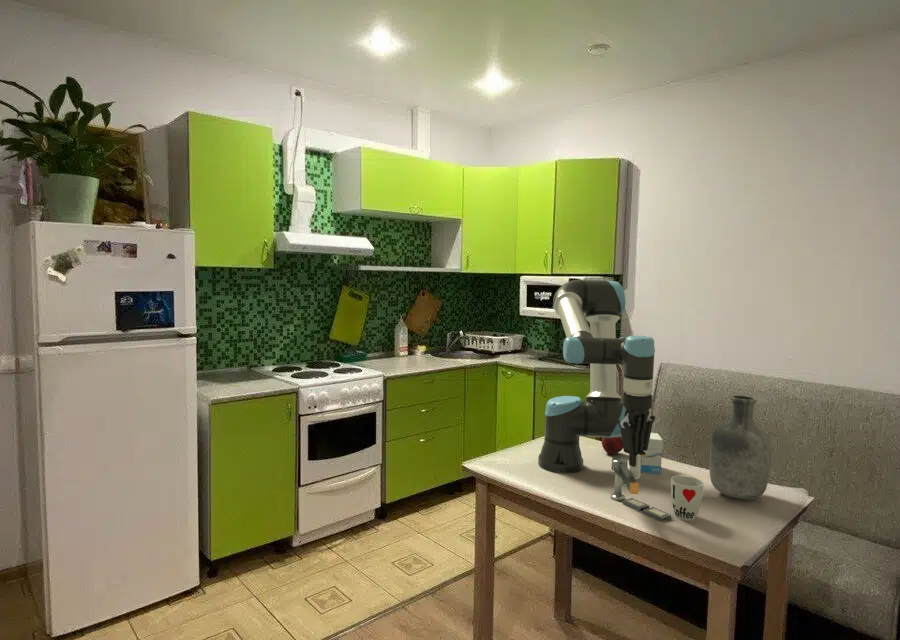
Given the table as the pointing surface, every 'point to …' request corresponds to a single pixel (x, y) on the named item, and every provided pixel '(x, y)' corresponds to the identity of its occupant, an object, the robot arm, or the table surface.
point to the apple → (612, 445)
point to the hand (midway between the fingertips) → (634, 476)
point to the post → (618, 488)
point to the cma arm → (625, 474)
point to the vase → (740, 453)
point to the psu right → (657, 514)
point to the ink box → (652, 455)
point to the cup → (686, 496)
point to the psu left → (635, 504)
